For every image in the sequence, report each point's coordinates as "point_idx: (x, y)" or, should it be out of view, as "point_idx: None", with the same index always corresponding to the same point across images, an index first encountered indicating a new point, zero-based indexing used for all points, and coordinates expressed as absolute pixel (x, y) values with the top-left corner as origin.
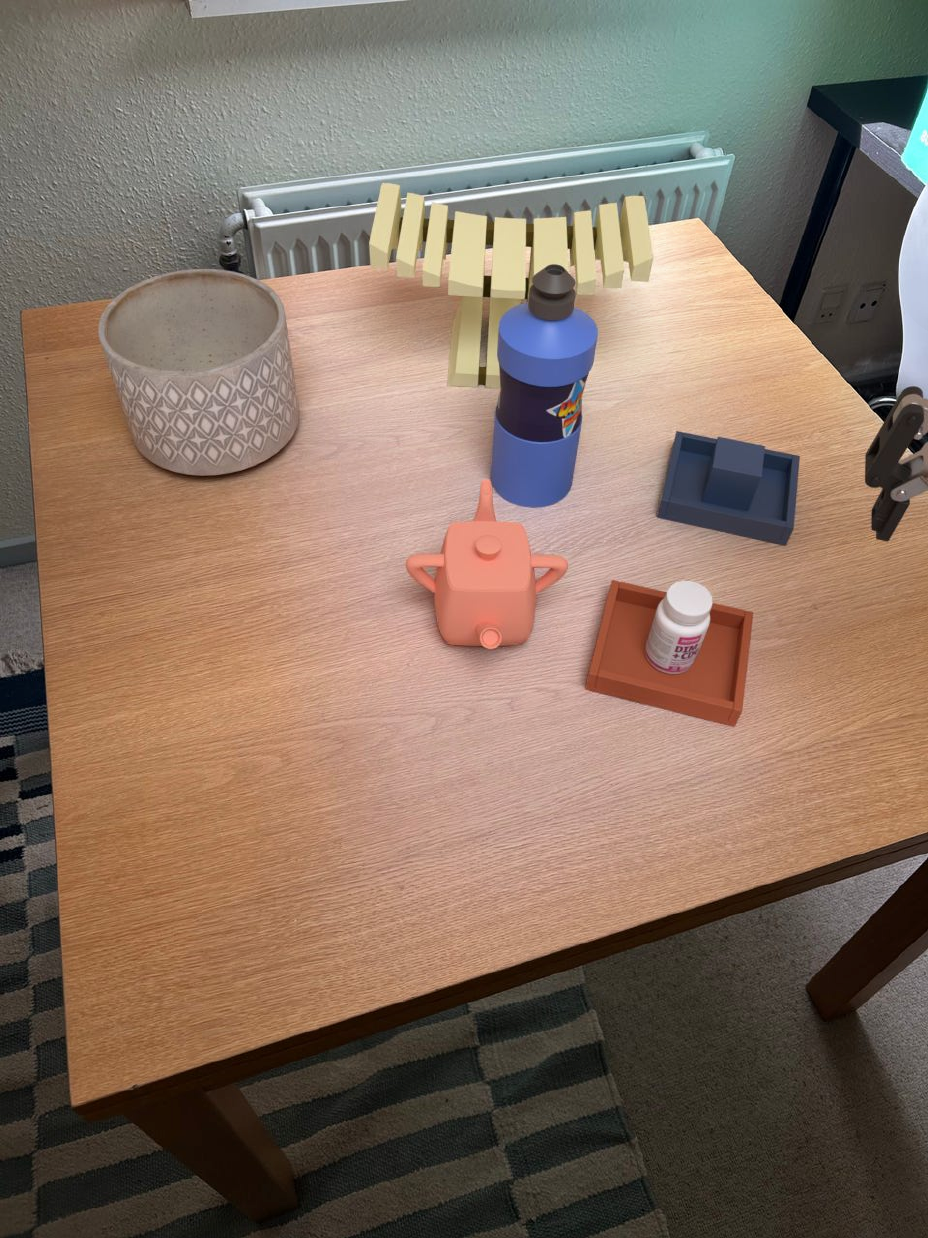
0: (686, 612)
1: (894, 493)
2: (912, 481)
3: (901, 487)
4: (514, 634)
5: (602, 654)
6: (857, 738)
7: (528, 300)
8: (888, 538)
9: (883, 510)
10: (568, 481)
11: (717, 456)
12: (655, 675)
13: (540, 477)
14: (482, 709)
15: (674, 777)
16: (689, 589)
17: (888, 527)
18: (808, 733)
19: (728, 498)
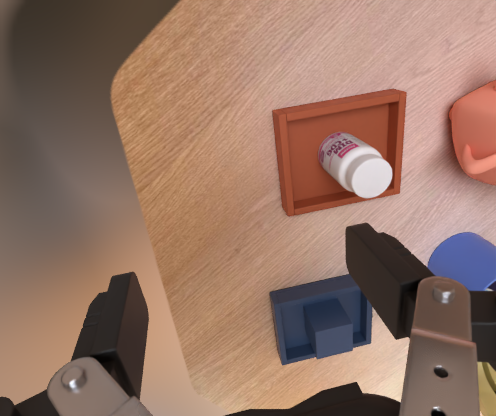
0: (373, 160)
1: (456, 286)
2: (467, 323)
3: (462, 302)
4: (476, 96)
5: (397, 117)
6: (176, 147)
7: (493, 392)
8: (354, 228)
9: (410, 260)
10: (439, 265)
11: (350, 333)
12: (344, 127)
13: (472, 254)
14: (470, 27)
15: (309, 34)
16: (373, 187)
17: (376, 239)
18: (214, 133)
19: (322, 307)
